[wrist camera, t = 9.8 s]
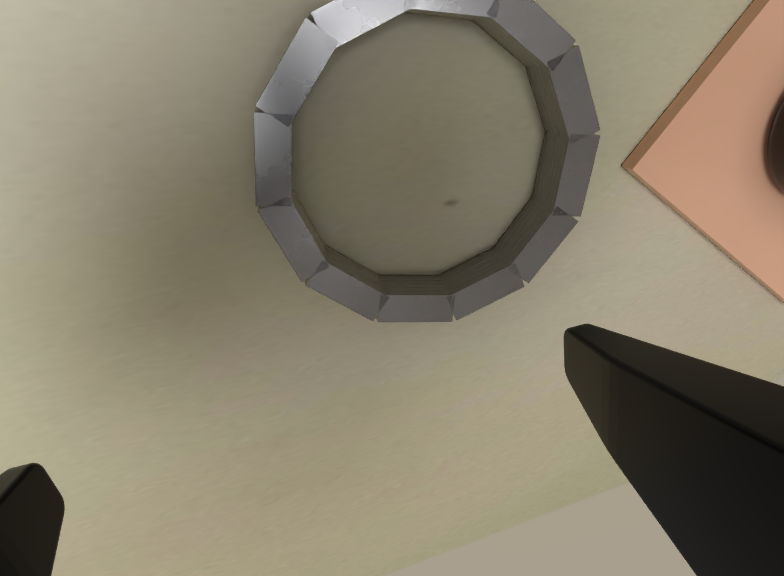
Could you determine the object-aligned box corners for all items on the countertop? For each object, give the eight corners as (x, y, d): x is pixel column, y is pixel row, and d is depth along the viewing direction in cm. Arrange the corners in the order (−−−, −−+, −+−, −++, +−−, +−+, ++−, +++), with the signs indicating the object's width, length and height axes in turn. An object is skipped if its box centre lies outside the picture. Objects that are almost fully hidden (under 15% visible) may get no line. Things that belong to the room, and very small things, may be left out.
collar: (380, -114, 17) (391, -133, 15) (629, 112, 21) (660, 119, 20) (197, 206, 20) (188, 223, 18) (448, 343, 25) (460, 367, 23)
